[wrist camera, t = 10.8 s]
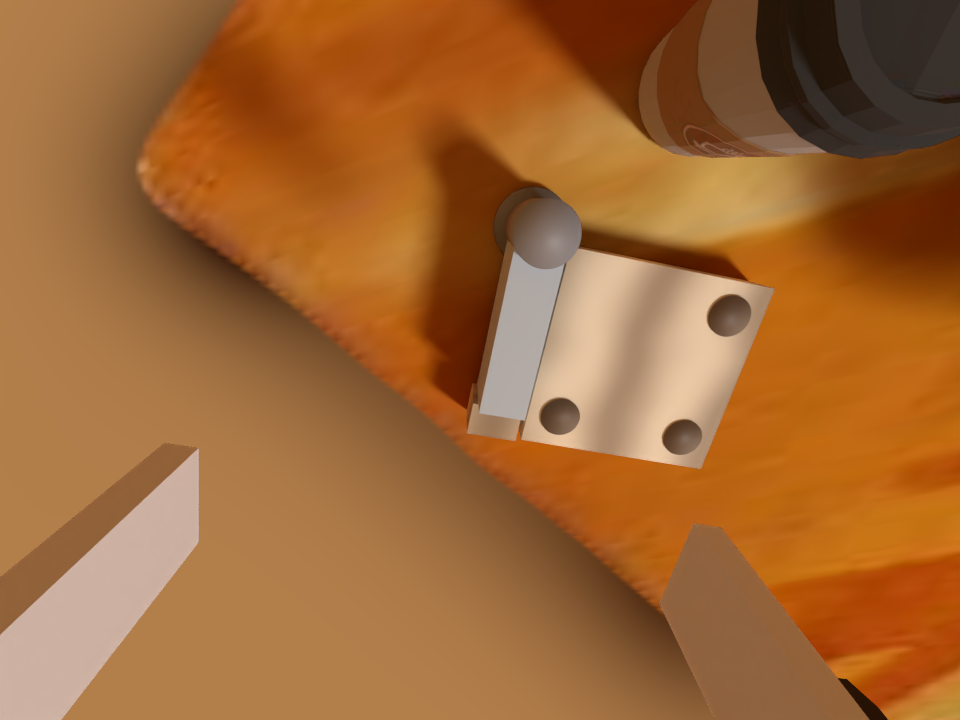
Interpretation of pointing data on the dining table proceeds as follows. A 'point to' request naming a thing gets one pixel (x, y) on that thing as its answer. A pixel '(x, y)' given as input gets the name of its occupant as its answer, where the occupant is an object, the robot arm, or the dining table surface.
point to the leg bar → (525, 302)
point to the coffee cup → (805, 78)
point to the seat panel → (633, 356)
